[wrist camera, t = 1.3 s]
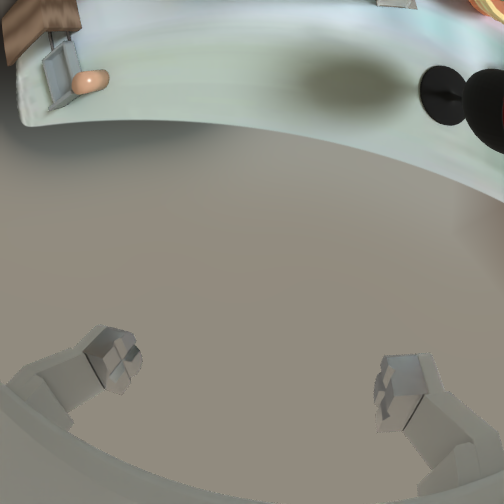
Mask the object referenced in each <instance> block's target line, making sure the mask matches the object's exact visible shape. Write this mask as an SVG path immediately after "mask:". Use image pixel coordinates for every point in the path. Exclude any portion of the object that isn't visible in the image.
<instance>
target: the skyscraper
mask: <svg viewBox="0 0 504 504" xmlns="http://www.w3.org/2000/svg"><path fill="white" fill-rule="evenodd" d="M376 4H377V6H386V7H399V8H409V9H417V6H416V2H415V0H376Z"/></svg>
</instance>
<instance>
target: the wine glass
mask: <svg viewBox="0 0 504 504" xmlns="http://www.w3.org/2000/svg"><path fill="white" fill-rule="evenodd" d="M420 93H421V99H422V102H423V105H424V107H425V109H426V111H427V112H428V114H429V115H430V116H431V117H432V118H433V119H434V120H436V121H437V122H439V123H441V124H444V125H456V124H459V123H460V122H462V121H463V120H464V119H465V118H466V120H467V122H468V124H469V126H470V128H471V129H472V131H473V132H474V133H475V135H476V136H477V137H478V138H479V139H480V140H481V141H482V142H483V143H485V144H486V145H487V146H488V147H490V148H492V149H493V150H495V151H497V152H500V153H502V154H504V71H503V70H499V69H485V70H481V71H478V72H476V73H474V74H473V75H472V76H471V77H470V78H469V79H468V81H467V82H465V81H464V79H463V78H462V76H461V75H460V74H459V73H458V72H456V71H455V70H453V69H451V68H449V67H446V66H436V67H433V68H431V69H429V70H428V71H427V72H426V73H425V75H424V77H423V78H422V82H421V87H420Z"/></svg>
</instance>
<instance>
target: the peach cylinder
mask: <svg viewBox="0 0 504 504" xmlns="http://www.w3.org/2000/svg"><path fill="white" fill-rule="evenodd" d="M108 83H109V74H108V72H107V71H106V70H93V71H85V72H79V73H77V74H76V75H75V76H74V78H73V80H72V90H73V92H74V93H75V94H77V95H80V94H85V93H89V92H94V91H99V90H103V89H104V88H106V87H107V85H108Z"/></svg>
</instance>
